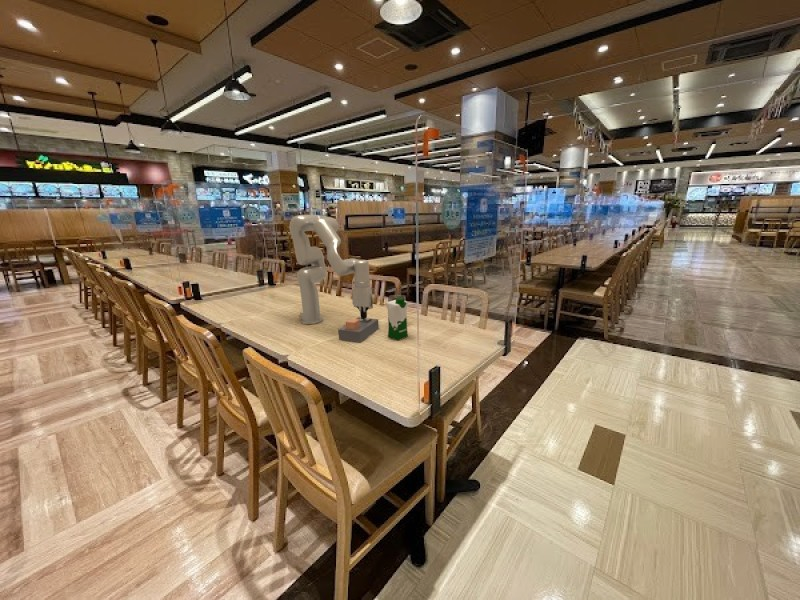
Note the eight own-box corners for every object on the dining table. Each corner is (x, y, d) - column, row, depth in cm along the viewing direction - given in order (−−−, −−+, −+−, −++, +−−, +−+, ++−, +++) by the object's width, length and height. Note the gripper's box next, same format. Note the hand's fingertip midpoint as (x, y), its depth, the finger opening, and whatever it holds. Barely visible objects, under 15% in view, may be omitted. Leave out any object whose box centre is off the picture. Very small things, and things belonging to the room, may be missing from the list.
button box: (339, 339, 157) (338, 329, 155) (359, 326, 174) (358, 317, 173) (360, 342, 152) (359, 332, 151) (378, 329, 170) (378, 319, 169)
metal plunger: (358, 329, 167) (358, 320, 166) (363, 326, 171) (362, 317, 170) (367, 330, 165) (366, 321, 164) (371, 327, 170) (370, 318, 168)
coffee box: (406, 322, 179) (405, 294, 175) (405, 326, 173) (404, 297, 169) (390, 322, 180) (389, 294, 176) (389, 326, 174) (387, 297, 169)
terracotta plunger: (346, 331, 156) (345, 321, 154) (351, 327, 160) (350, 318, 159) (355, 332, 154) (354, 322, 152) (360, 329, 158) (359, 319, 157)
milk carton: (398, 341, 152) (397, 301, 147) (385, 337, 158) (383, 298, 153) (410, 336, 159) (409, 297, 153) (397, 332, 165) (396, 294, 159)
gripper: (345, 284, 162) (347, 319, 167) (372, 287, 156) (373, 322, 161) (353, 281, 168) (355, 314, 173) (378, 283, 163) (379, 317, 168)
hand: (363, 318), depth 167 cm, fingers closed
